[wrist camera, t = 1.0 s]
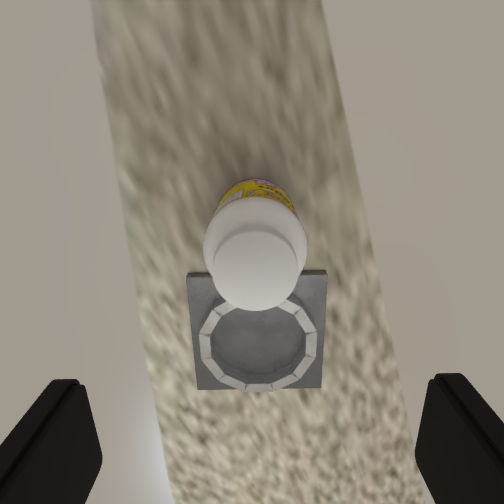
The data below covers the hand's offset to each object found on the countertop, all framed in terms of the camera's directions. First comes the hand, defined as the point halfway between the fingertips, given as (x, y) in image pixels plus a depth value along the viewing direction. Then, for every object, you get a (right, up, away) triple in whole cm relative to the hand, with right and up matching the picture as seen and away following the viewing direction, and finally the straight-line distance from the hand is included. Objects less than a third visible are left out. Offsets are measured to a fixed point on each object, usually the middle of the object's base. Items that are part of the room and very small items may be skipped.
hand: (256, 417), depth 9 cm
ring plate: (0, -3, +25) cm, 25 cm away
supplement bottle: (0, +8, +21) cm, 22 cm away
